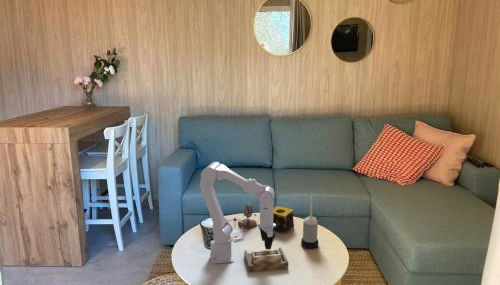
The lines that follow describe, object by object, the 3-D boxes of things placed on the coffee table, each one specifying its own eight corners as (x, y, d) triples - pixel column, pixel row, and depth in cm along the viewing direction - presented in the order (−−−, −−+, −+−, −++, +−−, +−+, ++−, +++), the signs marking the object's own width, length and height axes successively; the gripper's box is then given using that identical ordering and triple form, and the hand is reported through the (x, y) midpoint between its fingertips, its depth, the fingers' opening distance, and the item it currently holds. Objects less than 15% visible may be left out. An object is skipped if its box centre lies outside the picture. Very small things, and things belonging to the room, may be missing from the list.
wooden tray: (249, 272, 159) (249, 266, 158) (244, 256, 171) (244, 250, 170) (288, 268, 161) (288, 262, 161) (280, 253, 174) (280, 247, 173)
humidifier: (300, 248, 178) (301, 198, 172) (302, 240, 186) (303, 192, 180) (317, 250, 176) (319, 200, 171) (318, 242, 184) (320, 194, 178)
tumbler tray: (253, 265, 161) (253, 257, 160) (251, 259, 166) (251, 251, 165) (281, 263, 163) (281, 254, 162) (278, 257, 168) (278, 248, 167)
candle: (294, 227, 200) (294, 209, 198) (285, 234, 192) (285, 216, 190) (277, 222, 206) (277, 205, 203) (268, 229, 197) (268, 212, 195)
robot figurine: (245, 231, 196) (245, 209, 193) (233, 225, 203) (233, 204, 200) (260, 224, 203) (260, 203, 200) (249, 219, 210) (249, 198, 207)
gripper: (279, 222, 153) (279, 252, 157) (272, 207, 167) (271, 236, 170) (262, 223, 152) (262, 253, 155) (256, 209, 166) (256, 237, 169)
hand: (266, 244), depth 163 cm, fingers open, 7 cm apart
